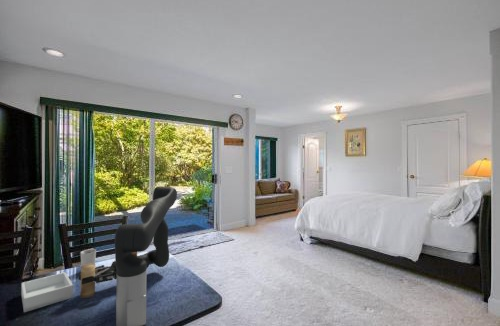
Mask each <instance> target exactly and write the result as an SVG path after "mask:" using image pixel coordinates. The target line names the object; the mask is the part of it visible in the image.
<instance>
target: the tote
mask: <svg viewBox="0 0 500 326" xmlns="http://www.w3.org/2000/svg"><path fill="white" fill-rule="evenodd" d="M20 290H21V294H20V295H21V302H22V308H23V309H22V310H23V313H27V312H30V311H33V310H37V309H40V308H43V307H46V306H49V305H53V304H56V303H60V302H63V301H65V300H69V299H72V298H74V285H73V282H72V280H71V279H70V278H69V276H68V274H67V272H65V271H63V272H60V273H56V274H52V275H48V276H45V277H44V276H43V277H40V278H39V277H38V278H36V279H31V280H29V281H28V280H27V281H24V282H21V289H20Z"/></svg>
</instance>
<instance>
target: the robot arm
mask: <svg viewBox="0 0 500 326" xmlns="http://www.w3.org/2000/svg"><path fill="white" fill-rule="evenodd" d="M177 198H178V191H177V190H176V188H175V187H172V186H156V187H154V190H153V193H152V200H151V201H149V202H148V203H147V204H146V205H145V206H144V207H143V208H142V210H141V212H140V220H141V222H142V223H124V224H120V225H119V226H118V227H117V229H116V231H115V235H114V258H115V260H114V261H112V263H111V265H109V266H105V265H104V264H101V265H98V266H95V275H94V276H90V277H86V278H83V279H82V284H87V283H90V282H95V284H100V283H103V282H109V281H113V280H116V291H115V293H116V294H115V295H116V297H115V301H116V303H115V307H116V309H115V310H116V311H115V315H116V316H115V320H116V321H115V326H144V325H146V324H147V275H148V274H147V273H148V272H147V269H148V268H149V266H151V265H155V266H157V267H159V268H163V267H165V266H166V265H167V264H168V262H169V261H170V248H169V243H168V241H169V230H170V229H169V225H168V223H167V221H166V219H165V217H166V215H167V213H168V211H169V210H170V209H171V208H172V206H174V204H175V202H176V201H177ZM152 242H153V246H154V248H155V249H154V250H153V249H152V250H150V251H148V252H145V251H146V250H148V248H149V247H150V245H151V243H152ZM131 252H137V253H141V252H145V253H144V254H141V255H137V256H135V255H133V254H132V253H131ZM78 280H79V281H81V273H79V274H78Z"/></svg>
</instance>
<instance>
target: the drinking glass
mask: <svg viewBox="0 0 500 326" xmlns="http://www.w3.org/2000/svg"><path fill="white" fill-rule="evenodd" d="M96 256H97V249H94V248H90V249H85V250H82V251H80V267H81V266H83V265H86V264H92V263H93V264H95V265H96Z"/></svg>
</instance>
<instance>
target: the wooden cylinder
mask: <svg viewBox="0 0 500 326" xmlns="http://www.w3.org/2000/svg"><path fill="white" fill-rule="evenodd" d="M95 268H96V263H95V264H93V263H92V264H86V265H83V266H81V265H80V274H81V280H80V298H81V299H88V298H91V297H93V296H95V294H96V282H90V283H87V284H82V279H83V278H86V277H90V276H94V275H95Z"/></svg>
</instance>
